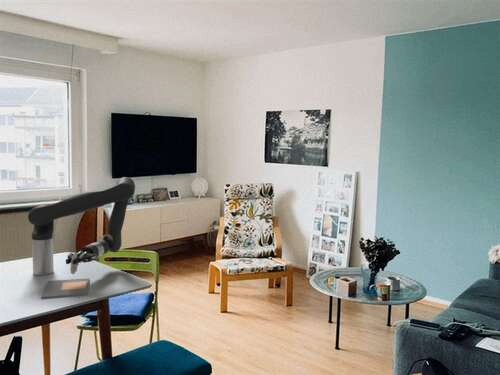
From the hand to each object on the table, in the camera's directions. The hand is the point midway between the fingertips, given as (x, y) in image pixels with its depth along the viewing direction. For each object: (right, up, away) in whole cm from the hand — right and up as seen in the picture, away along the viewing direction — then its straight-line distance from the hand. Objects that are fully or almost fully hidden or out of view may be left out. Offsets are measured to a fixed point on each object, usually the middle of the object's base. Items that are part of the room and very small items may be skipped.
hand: (70, 262), depth 198 cm
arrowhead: (+1, -6, +4) cm, 7 cm away
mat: (-2, -12, +2) cm, 13 cm away
